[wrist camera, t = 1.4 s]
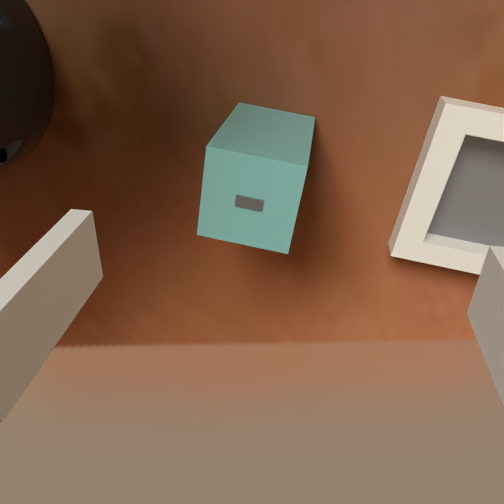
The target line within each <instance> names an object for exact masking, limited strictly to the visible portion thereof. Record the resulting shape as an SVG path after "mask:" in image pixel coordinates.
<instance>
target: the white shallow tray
mask: <svg viewBox="0 0 504 504" xmlns="http://www.w3.org/2000/svg"><path fill="white" fill-rule="evenodd" d="M388 244H389V250H390V255H391V256H393V257H398V258H403V259H408V260H412V261H417V262H422V263H427V264H431V265H436V266H441V267H446V268H450V269H455V270H460V271H465V272H469V273H474V274H479V275H480V273H481V270H482V267H483V264H484V261H485V258H486V255H487V252H488V249H489V246H501V247H504V108H501V107H496V106H490V105H485V104H480V103H475V102H470V101H464V100H459V99H454V98H449V97H444V96H440V98H439V100H438V103H437V106H436V109H435V112H434V115H433V118H432V120H431V123H430V126H429V129H428V132H427V135H426V137H425V140H424V143H423V146H422V149H421V152H420V154H419V157H418V160H417V163H416V166H415V169H414V171H413V174H412V177H411V180H410V183H409V186H408V189H407V191H406V194H405V197H404V200H403V203H402V206H401V208H400V211H399V214H398V217H397V220H396V223H395V225H394V228H393V231H392V234H391V237H390V240H389V242H388Z"/></svg>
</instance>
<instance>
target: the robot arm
mask: <svg viewBox="0 0 504 504" xmlns="http://www.w3.org/2000/svg"><path fill="white" fill-rule="evenodd" d="M53 93H54V88H53V73H52V67H51V62H50V58H49V54H48V50H47V47H46V44H45V41H44V38H43V36H42V33H41V31H40V29H39V26H38V24H37V22H36V20H35V18H34V16H33V15H32V13H31V11H30V9H29V8H28V6H27V4H26V3H25V1H24V0H0V170H1V169H3V168H4V167H6V166H8V165H10V164H11V163H13V162H15V161H16V160H18V159H20V158H22V157H23V156H24V155H26V154H27V153H28V152H29V151H31V150H32V149H33V147H34V146H35V145H36V144H37V143H38V141H39V140H40V139H41V137H42V135H43V134H44V132H45V129H46V127H47V125H48V122H49V119H50V115H51V111H52V105H53ZM102 278H103V273H102V267H101V261H100V255H99V248H98V242H97V236H96V230H95V224H94V218H93V212H92V211H88V210H76V209H71V210H70V211H69V212H68V213H67V214H65V215H64V216H63V217H62V218H61V219H60V220H59V221H58V222H57V223H56V224H55V225H54V226H53V227H52V228H51V229H50V230H49V231H48V232H47V233H46V234H45V235H44V236H43V237H42V238H41V239H40V240H39V241H38V242H37V243H36V244H35V245H34V246H33V247H32V248H31V249H30V250H29V251H28V252H27V253H26V254H25V255H24V256H23V257H22V258H21V259H20V260H19V261H18V262H17V263H16V264H15V265H14V266H13V267H12V268H11V269H10V270H9V271H8V272H7V273H6V274H5V275H4V276H3V277H2V278H1V279H0V422H3V420H4V419H5V417H6V415H7V414H8V413H9V411H10V410H11V409H12V407H13V406H14V404H15V403H16V401H17V400H18V398H19V397H20V396H21V394H22V393H23V391H24V390H25V388H26V387H27V386H28V384H29V383H30V381H31V380H32V378H33V377H34V376H35V374H36V373H37V371H38V370H39V368H40V367H41V365H42V364H43V363H44V361H45V360H46V358H47V357H48V355H49V354H50V353H51V351H52V350H53V348H54V347H55V345H56V344H57V343H58V341H59V340H60V338H61V337H62V335H63V334H64V333H65V331H66V330H67V328H68V327H69V325H70V324H71V322H72V321H73V320H74V318H75V317H76V315H77V314H78V312H79V311H80V310H81V308H82V307H83V305H84V304H85V302H86V301H87V300H88V298H89V297H90V295H91V294H92V292H93V291H94V289H95V288H96V287H97V285H98V284H99V282H100V281H101V279H102ZM467 316H468V318H469V321H470V323H471V326H472V328H473V331H474V333H475V336H476V338H477V341H478V343H479V346H480V348H481V351H482V354H483V356H484V359H485V361H486V363H487V366H488V369H489V371H490V374H491V376H492V379H493V382H494V384H495V387H496V389H497V392H498V394H499V397H500V399H501V402H502V404H503V407H504V247H501V246H489V249H488V252H487V255H486V258H485V261H484V264H483V267H482V270H481V273H480V276H479V279H478V282H477V285H476V288H475V291H474V294H473V296H472V299H471V302H470V305H469V308H468V311H467Z"/></svg>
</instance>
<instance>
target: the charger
mask: <svg viewBox="0 0 504 504" xmlns="http://www.w3.org/2000/svg"><path fill="white" fill-rule="evenodd" d="M314 124H315V117H311V116H306V115H301V114H296V113H291V112H286V111H281V110H275V109H270V108H265V107H260V106H255V105H250V104H245V103H240V102H239V103H238V104H237V106H236V107H235V108H234V110H233V111H232V112H231V114H230V115H229V116H228V118H227V119H226V120H225V122H224V123H223V124H222V126H221V127H220V128H219V130H218V131H217V132H216V134H215V135H214V136H213V138H212V139H211V140H210V142H209V143H208V144H207V146H206V154H205V163H204V173H203V182H202V191H201V201H200V210H199V220H198V229H197V235H200V236H205V237H210V238H214V239H219V240H224V241H228V242H233V243H238V244H243V245H247V246H252V247H257V248H261V249H266V250H271V251H275V252H280V253H285V254H288V252H289V248H290V243H291V239H292V234H293V230H294V226H295V221H296V217H297V212H298V208H299V204H300V199H301V195H302V190H303V186H304V182H305V177H306V173H307V168H308V163H309V156H310V150H311V143H312V137H313V130H314Z"/></svg>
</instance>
